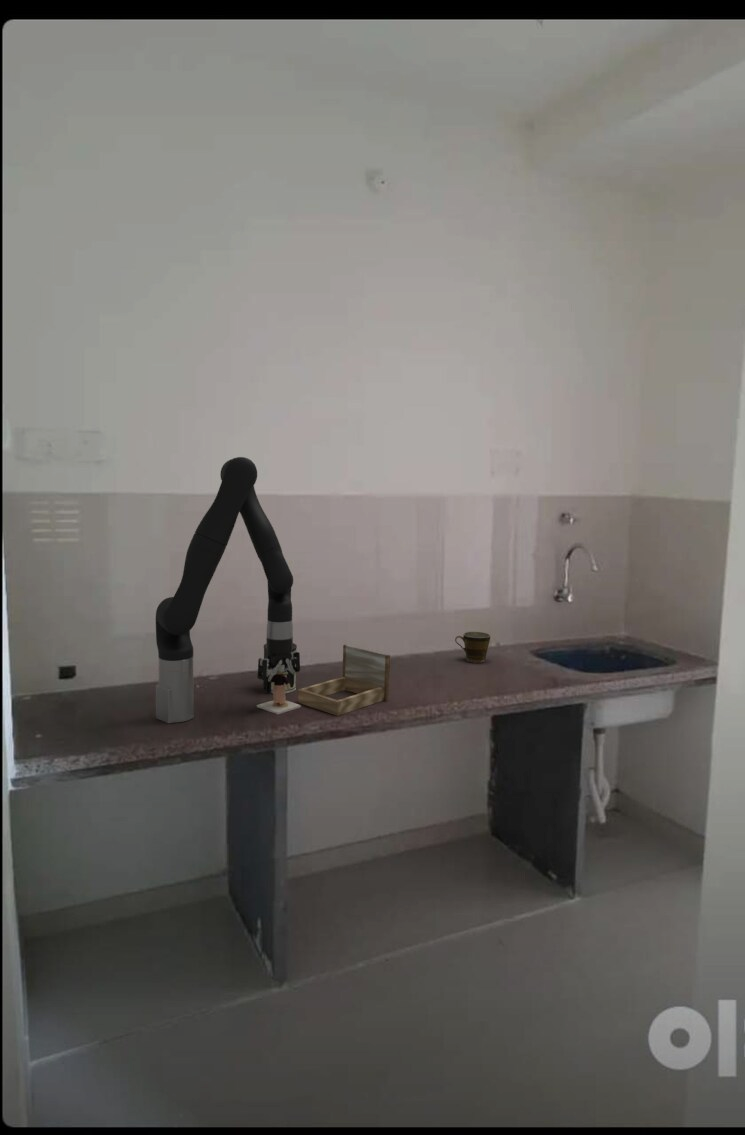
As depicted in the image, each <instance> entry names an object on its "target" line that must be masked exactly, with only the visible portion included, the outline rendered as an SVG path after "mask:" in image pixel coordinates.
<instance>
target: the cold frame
mask: <svg viewBox="0 0 745 1135" xmlns="http://www.w3.org/2000/svg"><path fill="white" fill-rule="evenodd" d="M342 645H343V647H342V676H341V677H337V678H334V679H330V680H326V681H323V682H319V683H316V684H312V685H310V686H305V687H302V688H298V689H297V704H300V705H304V706H306V707H307V706H308V707H310V708H313V709H316V710H320V711H322V712H326V713H329V714H331V715H333V716H334V715H335V716H336V717H337V716H338V717H339V716H342V715H344V714H347V713H350V712H354V711H356V710H360V709H361V708H365V707H367V706H371V705H373V704H377V703H380V702H383V701H386V702H387V701H389V696H390V695H389V694H390V669H391V666H390V664H391V662H390V661H391V655H390V654H386V653H382V652H378V651H373V650H369V649H365V648H361V647H358V646H353V645H349V644H346V643H344V644H342ZM344 691H346V692H350V693H353V694H354V695H350V696H347V697H344V698H340V699H334V698H332V697H329V696H330V695H333V694H337V693H339V692H344Z"/></svg>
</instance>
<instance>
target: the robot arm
mask: <svg viewBox="0 0 745 1135" xmlns="http://www.w3.org/2000/svg"><path fill="white" fill-rule="evenodd" d="M257 479H258V469H257V466H256V464H255V463H254V462H253V461H252V460H251V459H250V458H247V457H244V456H237V457H233V458H231V459H229V460H227V461H225V463H223V465H222V466H221V470H220V480H221V482H220V485H219V489H218V490H217V494H216V496H215V498H214V500H213V502H212V504H211V506H210V507H209V508H208V510H207V511H206V513H205V514H204V516H203V517H202V519H200V522H199V524H198V526H197V527H196V530H195V531H194V533H193V535H192V537H191V540H190V542H189V545H188V548H187V551H186V555H185V560H184V566H183V571H182V577H181V581H180V583H179V586H178V587H177V589H176V591H175V594H174V595H173V596H171V597H170V596H169V597H166V598H165V599H163V600H162V601H161V602H160V603H159V604H158V606H157V608H156V610H155V641H156V647H157V652H158V683H157V684H156V685H155V719H157V720H158V721H159V720H160V721H162V722H164V723H166V724H172V723H173V724H174V723H182V722H187V721H190V720H192V719H193V718H194V716H195V714H194V713H195V712H194V710H195V708H194V698H195V697H194V694H195V693H194V647H193V643H192V640H191V630H192V629H193V627H194V626H195V624H196V622H197V620H198V616H199V613H200V610H201V607H202V604H203V600H204V597H205V595H206V592H207V590H208V587H209V585H210V583H211V581H212V580H213V577H214V574H215V572H216V570H217V567H218V565H219V564H220V561H221V560H222V557H223V555H224V552H225V551H226V548H227V546H228V544H229V540H230V539H231V536H232V533H233V530H234V528H235V525H236V523H237V519H238V516H239V513H240V516H241V518H242V520H243V523H244V525H245V528H246V530H247V532H248V536H249V539H250V541H251V543H252V546H253V548H254V551H255V553H256V555H257V558H258V559H259V562H260V563H261V566H262V569H263V571H264V574H265V577H266V581H267V598H268V603H267V620H266V621H267V622H266V638H265V639H266V643H265V644H266V650H267V653H268V657H267V659H264V658H261V657H260V658H258V660H257V661H258V665H257V679H258V680H261V681H262V682H263V685H262V686H263V688H262V689H263V692H264V693H265V694H268V695H271V694H272V693H271V679H272V677H273V675H275V674H276V672H277V671H279V670H278V669H279V667H280V666H281V665H284V667H285V668H284V670H286V672H287V673H288V674H287V679H288V681H289V684H290V687H291V688H292V687H293V685H294V675H295V673H296V674H297V673H299V672H300V671H301V661H300V660H301V657H300V653H301V652H298V651H297V650H296V651H292V650H293V643H294V642H293V640H294V638H293V637H294V636H293V635H294V626H293V625H294V624H293V604H292V587H293V584H294V576H293V574H292V571H291V569H290V567H289V565H288V563H287V560H286V559H285V556H284V554H283V551H282V550H283V549H282V547H281V544H280V541H279V539H278V536H277V534H276V531H275V529H274V527H273V525H272V524H271V522H270V520H269V518H268V516H267V514H266V513H265V511H264V510H263V507H262V506H261V504H260V501H259V499H258V496H257V494H256V493H257V492H256V490H255V484H256V483H257ZM290 660H291V663H290ZM295 664H296V667H295ZM270 669H272V670H270ZM268 675H269V676H268Z"/></svg>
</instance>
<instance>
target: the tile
mask: <svg viewBox="0 0 745 1135" xmlns="http://www.w3.org/2000/svg"><path fill="white" fill-rule="evenodd" d="M286 703H288V706H286V707H280V705H278V706H273V704H274V702H273V700H270V701H266V702H263V703H260V704H257V705H256V708H257V709H258V708H259V709H261V710H264V711H267V712H270V713H272V714H275V715H280V714H284V713H286V712H290V711H293V710H297V709H299V708H301V707H302V704H300V703H295V702H292V701H289V700H286ZM280 704H281V703H280Z"/></svg>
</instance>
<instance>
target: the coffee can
mask: <svg viewBox="0 0 745 1135" xmlns="http://www.w3.org/2000/svg"><path fill="white" fill-rule="evenodd" d="M297 648H298V645H297V644H296V643H294V642H293V650H292V651H296V652H297ZM267 657H268V653H267V650H266V643H265V644H263V659H267ZM290 663H291V660H290ZM295 667H296V664H295ZM270 670H272V669H270ZM287 674H288V673H287V672H286V670H284V672H283V674H281V675H284V676H285V677H286V678H287ZM275 675H277V674H275ZM268 676H269V675H268ZM296 680H297V672H296V673H295V675H294V685H293V687H292V688H291V689H290V690H288V689H287V686H286V684H285V683H284V685H285V694H289V693H292V692H295V691H296V690H297V686H296V685H297V681H296ZM273 688H274V682H272V683H271V693H270V694H273Z"/></svg>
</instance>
